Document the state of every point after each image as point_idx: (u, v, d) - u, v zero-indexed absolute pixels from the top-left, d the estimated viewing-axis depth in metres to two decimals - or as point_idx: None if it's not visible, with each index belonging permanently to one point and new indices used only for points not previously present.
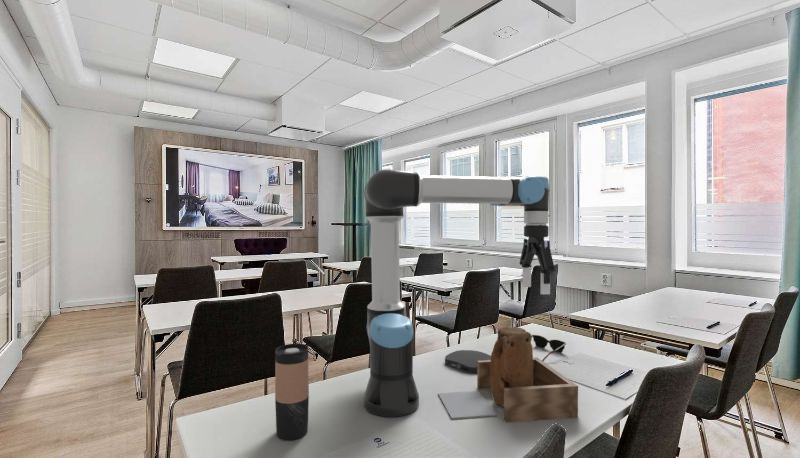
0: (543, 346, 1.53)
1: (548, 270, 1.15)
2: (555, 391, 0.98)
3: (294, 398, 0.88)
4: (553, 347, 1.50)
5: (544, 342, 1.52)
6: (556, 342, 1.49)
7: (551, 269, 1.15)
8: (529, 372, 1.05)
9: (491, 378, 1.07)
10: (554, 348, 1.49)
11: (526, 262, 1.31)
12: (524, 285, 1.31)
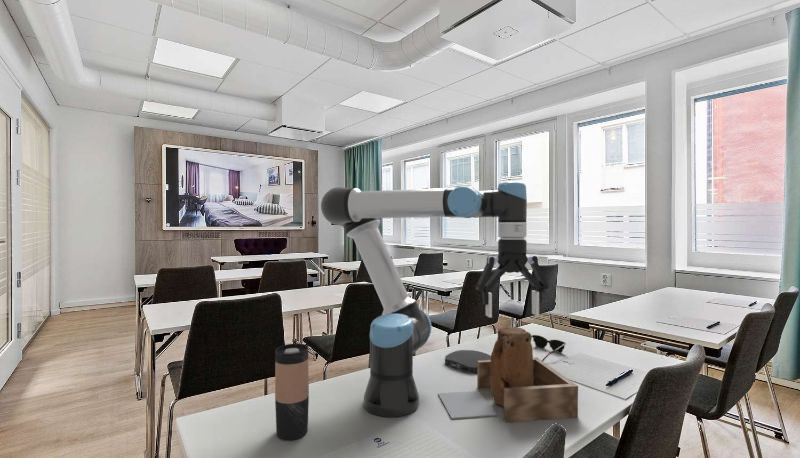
0: (543, 346, 1.53)
1: (476, 288, 1.06)
2: (555, 391, 0.98)
3: (294, 398, 0.88)
4: (553, 347, 1.50)
5: (544, 342, 1.52)
6: (556, 342, 1.49)
7: (477, 287, 1.05)
8: (529, 372, 1.05)
9: (491, 378, 1.07)
10: (554, 348, 1.49)
11: (531, 284, 1.08)
12: (532, 311, 1.09)
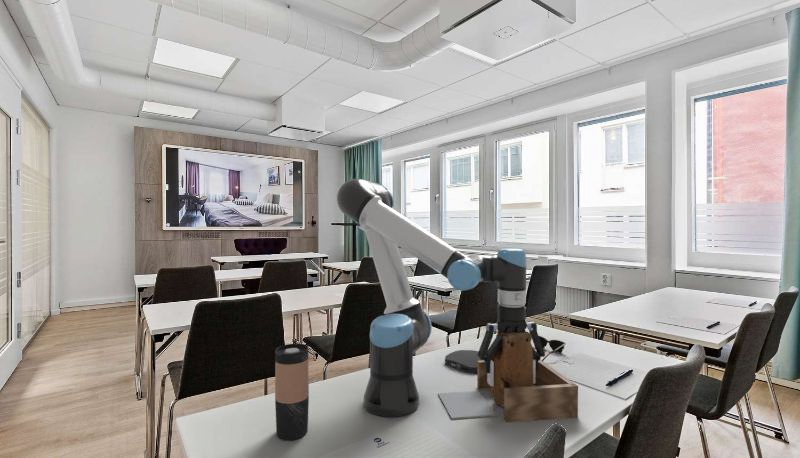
0: (543, 346, 1.53)
1: (478, 356, 1.06)
2: (555, 391, 0.98)
3: (294, 398, 0.88)
4: (553, 347, 1.50)
5: (544, 342, 1.52)
6: (556, 342, 1.48)
7: (479, 356, 1.05)
8: (529, 372, 1.05)
9: None
10: (554, 348, 1.49)
11: None
12: None
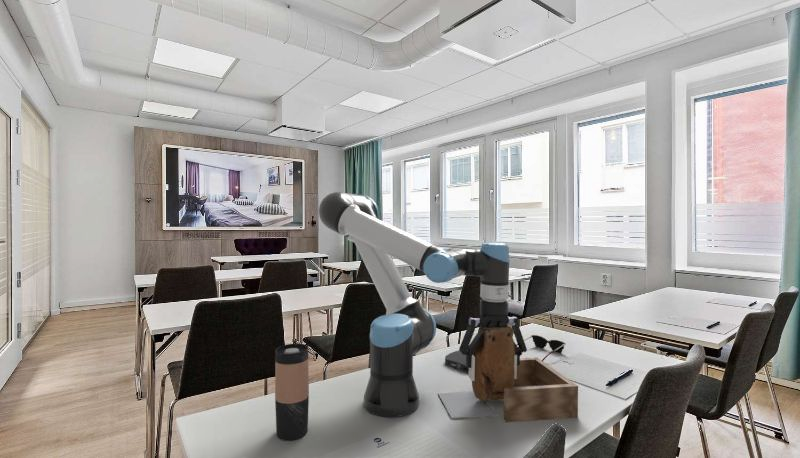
0: (542, 346, 1.53)
1: (459, 350, 1.06)
2: (555, 391, 0.98)
3: (294, 398, 0.88)
4: (552, 347, 1.49)
5: (544, 342, 1.52)
6: (555, 342, 1.48)
7: (460, 351, 1.05)
8: (511, 367, 1.04)
9: None
10: (553, 348, 1.49)
11: None
12: None
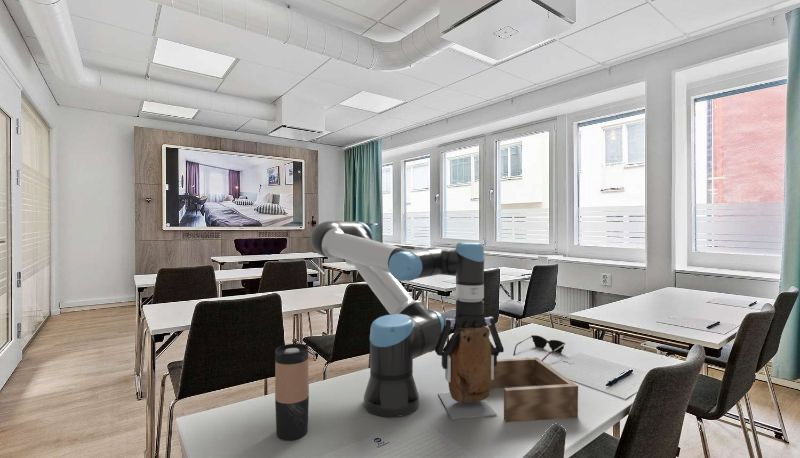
0: (542, 346, 1.52)
1: (435, 351, 1.05)
2: (555, 391, 0.98)
3: (294, 398, 0.88)
4: (552, 347, 1.49)
5: (544, 342, 1.52)
6: (555, 342, 1.48)
7: (436, 351, 1.04)
8: (487, 367, 1.03)
9: None
10: (553, 348, 1.49)
11: None
12: None
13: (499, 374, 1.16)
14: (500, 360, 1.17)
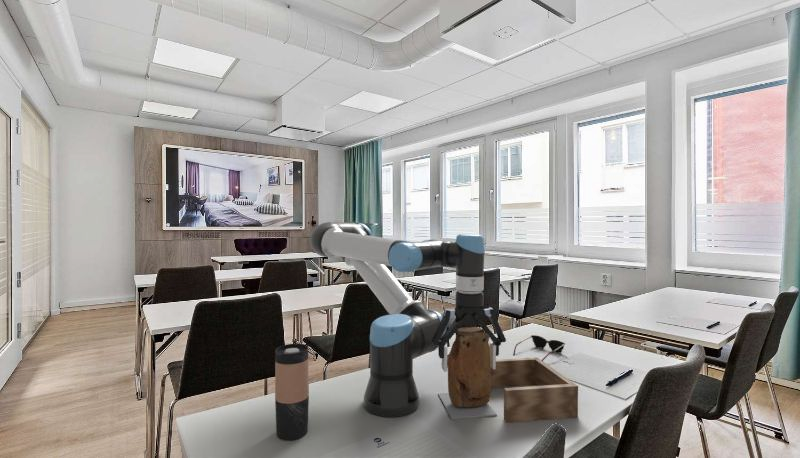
0: (542, 346, 1.52)
1: (432, 341, 1.05)
2: (555, 391, 0.98)
3: (294, 398, 0.88)
4: (552, 347, 1.49)
5: (543, 343, 1.52)
6: (555, 342, 1.48)
7: (433, 341, 1.04)
8: (487, 372, 1.03)
9: (448, 379, 1.05)
10: (553, 348, 1.49)
11: (489, 336, 1.07)
12: None
13: (499, 374, 1.16)
14: (500, 360, 1.17)
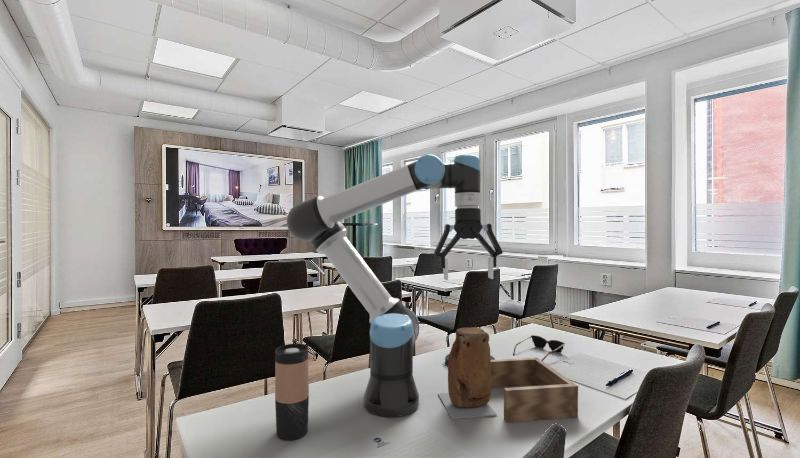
0: (542, 346, 1.52)
1: (434, 253, 1.15)
2: (555, 391, 0.98)
3: (294, 398, 0.88)
4: (552, 347, 1.49)
5: (543, 343, 1.52)
6: (555, 342, 1.48)
7: (434, 252, 1.14)
8: (487, 372, 1.03)
9: (448, 379, 1.05)
10: (553, 348, 1.49)
11: (487, 250, 1.16)
12: (488, 276, 1.17)
13: (499, 374, 1.16)
14: (500, 360, 1.17)
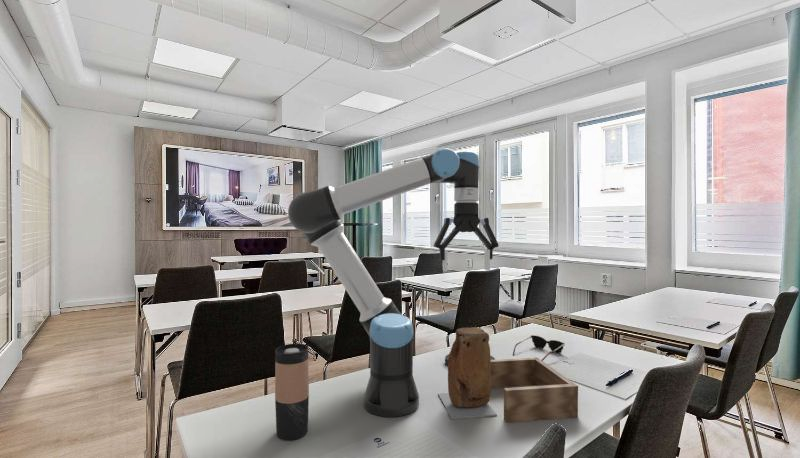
0: (542, 347, 1.52)
1: (434, 245, 1.20)
2: (555, 391, 0.98)
3: (294, 398, 0.88)
4: (552, 348, 1.49)
5: (543, 343, 1.52)
6: (555, 343, 1.48)
7: (435, 245, 1.19)
8: (487, 372, 1.03)
9: (448, 379, 1.05)
10: (553, 349, 1.49)
11: (483, 243, 1.22)
12: (484, 267, 1.23)
13: (499, 374, 1.16)
14: (500, 360, 1.17)
